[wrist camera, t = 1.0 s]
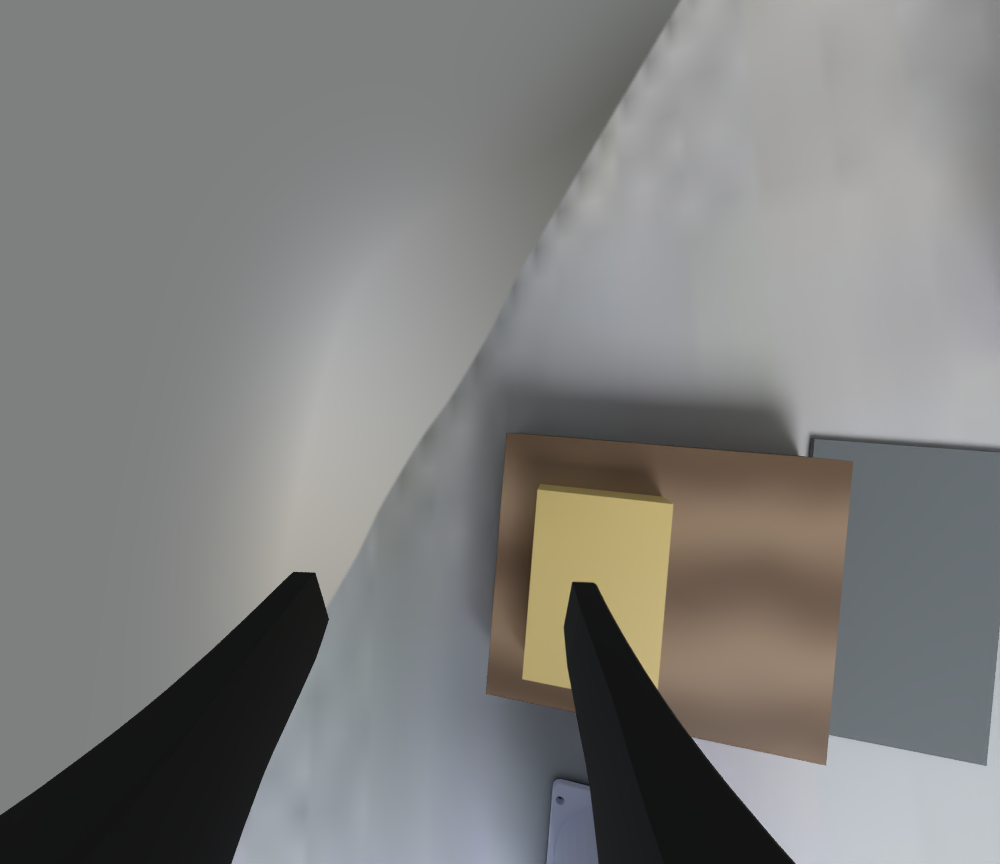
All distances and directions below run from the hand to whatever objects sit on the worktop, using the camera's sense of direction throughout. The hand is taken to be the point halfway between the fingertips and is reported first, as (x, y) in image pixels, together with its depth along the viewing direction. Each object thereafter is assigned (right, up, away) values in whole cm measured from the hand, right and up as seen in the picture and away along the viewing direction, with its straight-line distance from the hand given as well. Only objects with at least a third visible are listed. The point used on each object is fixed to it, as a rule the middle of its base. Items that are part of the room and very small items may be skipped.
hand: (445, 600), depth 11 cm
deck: (+10, -3, +12) cm, 16 cm away
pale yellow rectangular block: (+6, -3, +8) cm, 11 cm away
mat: (+23, -4, +9) cm, 25 cm away
